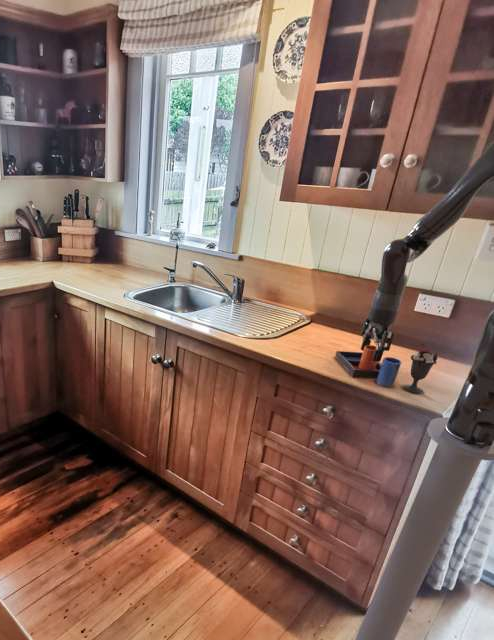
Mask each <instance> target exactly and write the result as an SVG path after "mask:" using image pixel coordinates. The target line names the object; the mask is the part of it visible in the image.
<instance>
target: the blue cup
mask: <svg viewBox="0 0 494 640" xmlns="http://www.w3.org/2000/svg"><path fill="white" fill-rule="evenodd" d="M381 364H382V365H381V368H380V371H379V374H378V377H377V378H376V381H375V383H376V384H377V385H379V386H381V387H384V388H393V387H394V386H395V383H396V380H397V377H398V374H399V372H400V369H401V365H402V360H400V359H398V358H395V357H390V356H386V357H384V358H383V359H382V362H381Z"/></svg>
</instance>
